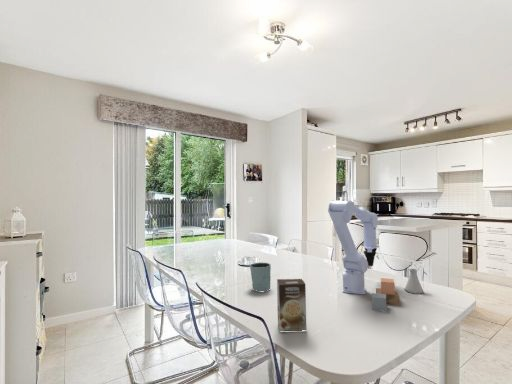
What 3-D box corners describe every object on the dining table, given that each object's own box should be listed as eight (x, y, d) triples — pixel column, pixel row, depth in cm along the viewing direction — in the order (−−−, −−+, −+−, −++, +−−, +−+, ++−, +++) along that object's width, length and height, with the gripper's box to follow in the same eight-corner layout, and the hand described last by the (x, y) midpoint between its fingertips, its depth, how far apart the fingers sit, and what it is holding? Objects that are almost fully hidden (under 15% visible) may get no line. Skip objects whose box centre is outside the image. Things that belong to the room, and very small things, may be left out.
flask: (414, 295, 123) (413, 272, 123) (401, 290, 130) (400, 268, 130) (427, 293, 125) (426, 270, 125) (414, 288, 132) (413, 266, 132)
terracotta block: (381, 293, 116) (380, 281, 116) (381, 289, 120) (380, 278, 120) (394, 294, 114) (394, 282, 114) (394, 290, 119) (393, 279, 119)
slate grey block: (372, 309, 109) (371, 297, 109) (372, 305, 114) (372, 292, 114) (386, 311, 107) (386, 298, 107) (386, 306, 112) (385, 294, 112)
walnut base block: (378, 304, 115) (377, 294, 115) (376, 297, 122) (376, 288, 122) (399, 306, 112) (399, 296, 112) (396, 299, 120) (396, 289, 120)
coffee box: (279, 333, 93) (278, 284, 93) (277, 324, 99) (276, 279, 99) (307, 332, 93) (305, 283, 93) (303, 323, 99) (301, 278, 100)
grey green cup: (269, 293, 131) (268, 267, 131) (248, 292, 133) (247, 267, 133) (272, 286, 141) (272, 262, 141) (253, 285, 143) (252, 262, 143)
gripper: (378, 239, 131) (379, 268, 131) (378, 234, 144) (379, 261, 144) (362, 238, 134) (363, 267, 134) (364, 234, 147) (365, 260, 147)
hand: (370, 264), depth 139 cm, fingers open, 7 cm apart
